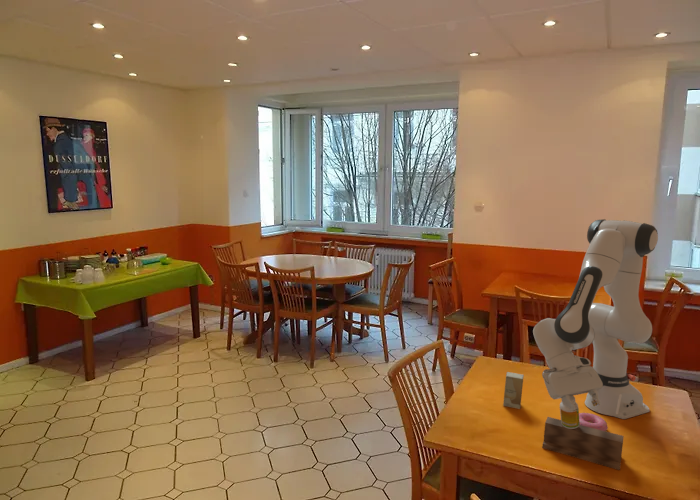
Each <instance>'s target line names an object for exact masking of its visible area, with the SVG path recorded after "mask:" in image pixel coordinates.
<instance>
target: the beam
mask: <svg viewBox="0 0 700 500" xmlns="http://www.w3.org/2000/svg"><path fill="white" fill-rule="evenodd" d="M543 432H544V433H543V442H542V446H541V447H542V449H545V450H548V451H552V452H555V453H559V454H562V455H565V456H569V457H573V458H576V459H580V460H583V461H586V462H590V463H594V464H597V465H600V466H604V467H608V468H612V469H615V470H618V471H621V466H622V465H621V464H622V463H621V462H622V455H623V445H624V438H625V437H624V435H622V434H621V435H620V434H617V433H613V432H609V431H602V430H598V429H594V428H590V427H586V426H582V425H579V427H578V428H575V429H568V428H565V427H564V426H563V425H562V423H561V419H558V418H555V417H551V416H547V417H546V420H545V422H544V431H543Z"/></svg>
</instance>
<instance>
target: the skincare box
mask: <svg viewBox="0 0 700 500" xmlns="http://www.w3.org/2000/svg"><path fill="white" fill-rule="evenodd" d="M523 385H524V374H521V373H515V372H509V371H507V372H506V375H505V384H504V394H503V403H502V405H503V407H509V408H513V409H518V410H520V409H521V404H522V393H523Z"/></svg>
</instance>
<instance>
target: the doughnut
mask: <svg viewBox="0 0 700 500" xmlns="http://www.w3.org/2000/svg"><path fill="white" fill-rule="evenodd" d="M579 421H580V425H582V426H586V427H590V428H594V429H598V430H602V431H606V432H608V431H607V430H608V429H609V426H608V423H607V422H606V420H605V419H604V418H602V417H601V416H599V415H596V414H594V413H589V412H579Z"/></svg>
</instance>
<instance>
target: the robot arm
mask: <svg viewBox="0 0 700 500" xmlns="http://www.w3.org/2000/svg"><path fill="white" fill-rule="evenodd" d="M586 239H587V242H588V243H589V245H588V248H587V250H586V252H585V255H584V257H583V260H582V264H581V269H580V272H579V277H578V280H577V281H576V285H575V287H574V290H573V291H572V294H571V297H570V299H569V301H568V303H567V305H566V307H565V308H564V309H563V310H561V312H560V313H559V314H558V315H557V316H556V317H555V318H550V317H547V318H546V317H545V318H544V319H541V320H540V321H538V322H537V323H536V324H535V325H534V327H533V330H532V333H533V337H534V340H535V343H536V345H537V347H538V349H539V351H540V352H541V354H542V355H543V356H544V358H545V361H546V364H547V366H548V369H543V371H542V373H541V374H542V375H541V376H542V378H543V381H544V385H545V388H546V390H547V392H548V393H547V394H549V397H550V398H551V399H553V400H558V399H561V402H562V401H563V402H564V403H565V404H566V405H568V406H569V408H570V410H571V411H576V410H578V409H579V406H578V407H577V405H576V403H577V402H576V403H575V404H574V403H573V402H572V401H571V400H570V396H571V395H572V396H574V397H575V396H577V395H578V396H579V395H582V394H583V395H584V394H586V398H585V401H584V404H585V406H586V407H587V408H588V409H590V410H592V411H594V412H596V413H599V414H602V415H606V416H611V417H615V418H619V419H622V420H626V419H629V418H632V417H636V416H639V415H644V414H646V413H650V408H649V406H648V405H647V404H645V403H644V398H643V397H644V396H643V395H642V394H643V393H642V392H640V390H639V389H637V388H636V387H635V386H634V385H632V384H631V383H630V381H631V382H634V381H635V380H636V376H635V375H634V374H631V373H629V374H628V373H627V371H628V369H627V368H628V361H629V360H628V359H629V356H628V353H627V351H626V350H625V348H623V347H622V345H621V344H620V342H619V341H618V340H620V341H623V342H626V343H630V344H631V343H632V344H639V345H640V344H644V343H645V342H647V341H648V340H649V339H650V338H651V336H652V334H653V324H652V322H651V320H650V319H649V317H648V316H646V313H645V312H644V311H643V309H642V306H641V302H640V297H639V291H640V281H641V277H642V271H643V264H644V257H645V256H646V255H649V254H650V253H652V252H653V251H654V250H655V248H656V246H657V243H658V240H659V234H658V229H656V227H655V226H654V225H653V224H648V223H645V222H644V223H641V222H636V221H631V220H617V219H616V220H615V219H611V220H610V219H607V220H606V219H605V218H604V219H597V220H596V219H595V220H594V221H593V222H592V223H591V224H589V226H588V228H587V235H586ZM602 287H603V289H604V292H606V294H607V295H608V296H609V297H610V298H611V300H612V302H613V306H612V305H609V304H605V303H600V302H594V301H595V298H596V294H597V293H598V291H599V290H600V289H601V288H602ZM591 344H592V345H593V346H592V347H593V361H592V362H593V364H592V362H591V360H590V359H589V358H586V357H582V356H579V355H574V353H573V351H575V350H580V349H584V348H587V347H589V346H590V345H591ZM591 365H593V366H591Z"/></svg>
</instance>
